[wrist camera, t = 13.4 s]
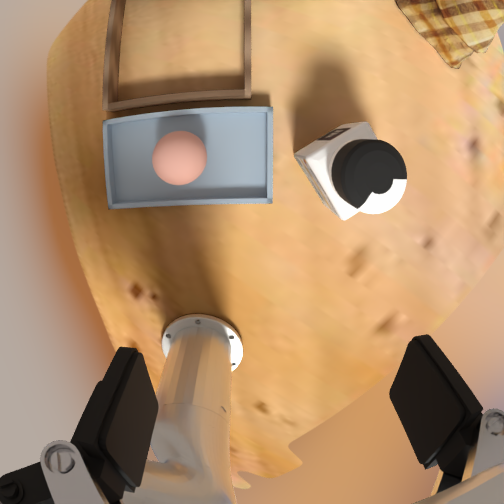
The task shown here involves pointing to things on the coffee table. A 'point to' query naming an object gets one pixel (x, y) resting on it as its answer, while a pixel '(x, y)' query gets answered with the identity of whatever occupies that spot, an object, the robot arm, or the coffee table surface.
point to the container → (354, 170)
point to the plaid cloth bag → (455, 25)
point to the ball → (179, 157)
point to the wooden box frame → (112, 94)
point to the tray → (217, 166)
